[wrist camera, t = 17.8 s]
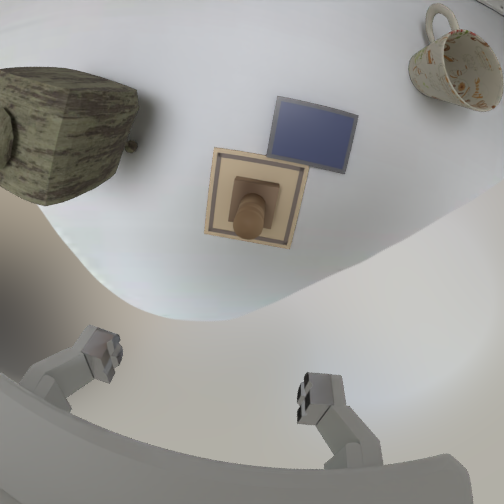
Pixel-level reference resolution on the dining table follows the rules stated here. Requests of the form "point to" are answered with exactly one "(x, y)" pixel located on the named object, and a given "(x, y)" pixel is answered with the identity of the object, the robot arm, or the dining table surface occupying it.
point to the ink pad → (311, 134)
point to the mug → (457, 67)
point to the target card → (260, 168)
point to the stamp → (252, 206)
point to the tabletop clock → (61, 131)
